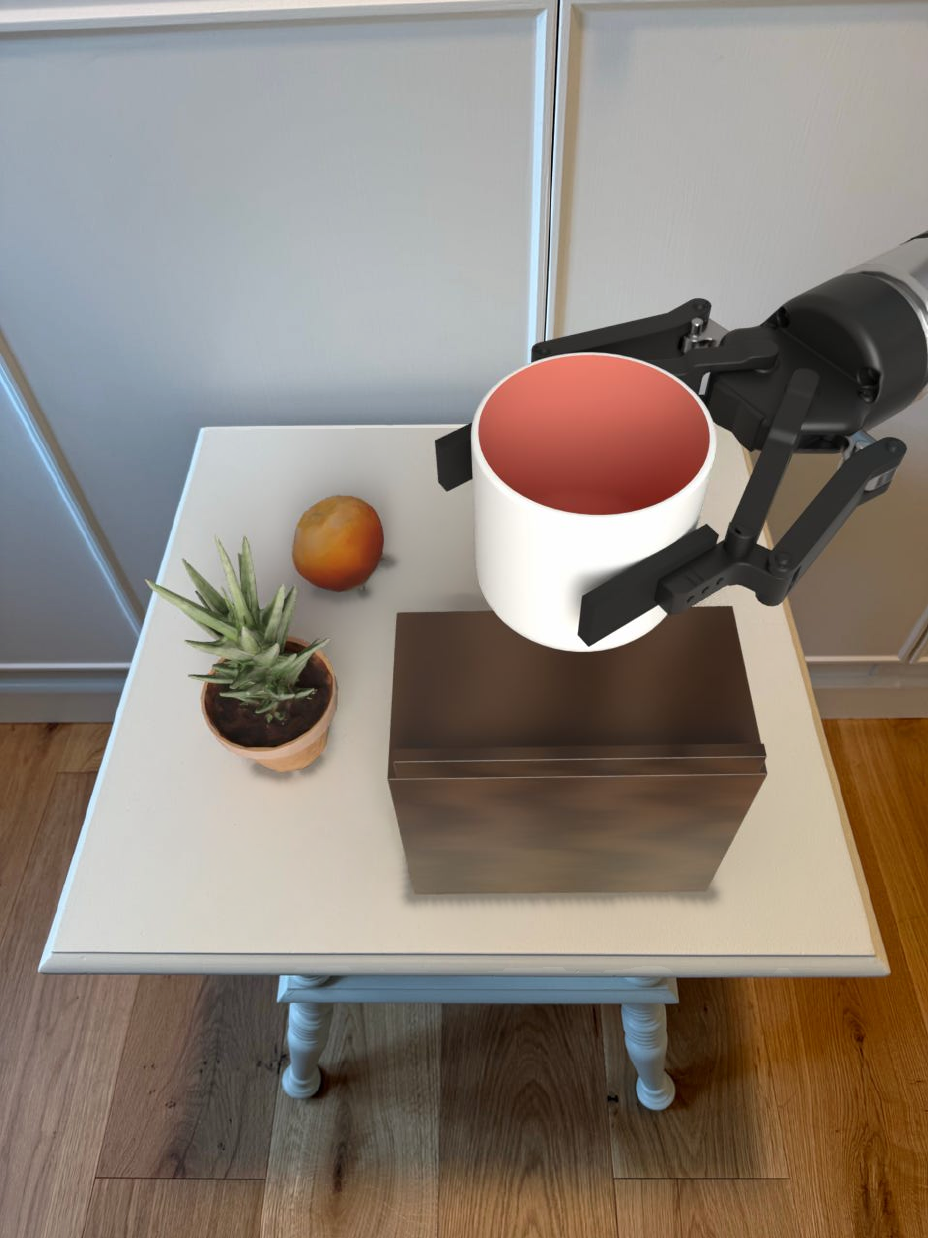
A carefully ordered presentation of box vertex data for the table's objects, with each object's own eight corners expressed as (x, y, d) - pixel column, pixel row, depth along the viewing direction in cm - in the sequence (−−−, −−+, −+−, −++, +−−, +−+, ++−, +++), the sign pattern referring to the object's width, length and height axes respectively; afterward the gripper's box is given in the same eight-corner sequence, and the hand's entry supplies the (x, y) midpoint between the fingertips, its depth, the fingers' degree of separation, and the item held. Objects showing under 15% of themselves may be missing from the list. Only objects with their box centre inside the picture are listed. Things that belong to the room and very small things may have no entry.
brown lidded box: (684, 747, 69) (739, 584, 53) (706, 891, 63) (777, 756, 47) (419, 751, 70) (393, 591, 54) (414, 894, 63) (382, 762, 47)
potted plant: (226, 805, 68) (109, 606, 48) (225, 696, 73) (120, 476, 53) (361, 784, 68) (302, 578, 48) (350, 677, 74) (293, 453, 54)
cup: (722, 598, 45) (770, 447, 37) (558, 700, 42) (571, 561, 34) (593, 477, 50) (610, 321, 42) (438, 561, 47) (424, 411, 39)
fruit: (385, 609, 76) (327, 543, 71) (319, 616, 81) (261, 555, 76) (421, 538, 80) (369, 471, 76) (357, 549, 85) (303, 487, 80)
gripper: (1027, 531, 44) (670, 774, 37) (702, 297, 55) (383, 451, 48) (1113, 410, 38) (702, 675, 31) (727, 175, 49) (366, 332, 42)
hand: (508, 539), depth 40 cm, fingers closed on cup, 10 cm apart
